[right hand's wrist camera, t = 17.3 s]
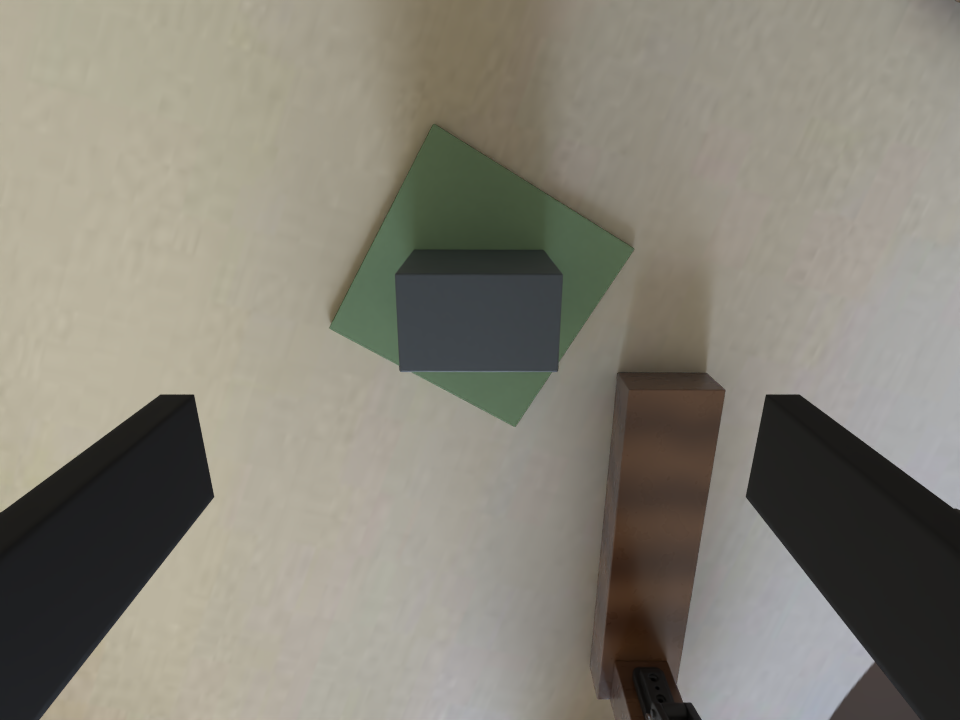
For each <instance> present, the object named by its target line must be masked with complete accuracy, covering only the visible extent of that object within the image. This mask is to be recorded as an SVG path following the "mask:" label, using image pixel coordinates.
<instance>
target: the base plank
mask: <svg viewBox="0 0 960 720" xmlns="http://www.w3.org/2000/svg"><path fill="white" fill-rule="evenodd" d="M724 396H725V389H724V388H723V387H722V386H720V385H719V384H718V383H717V382H716V381H715V380H714V379H713V378H712V377H710V376H709V375H708V374H707V373H618V374H617V384H616V395H615V405H614V416H613V426H612V437H611V448H610V458H609V469H608V479H607V490H606V501H605V511H604V522H603V532H602V543H601V554H600V564H599V575H598V586H597V596H596V607H595V617H594V628H593V639H592V649H591V660H590V669H591V674H592V678H593V683H594V687H595V691H596V696H597V699H610V701H611V705H612V709H613V713H614V717H615V720H644V716H643V713H642V710H641V706H640V703H639V700H638V696H637V693H636V690H635V686H634V683H633V680H632V676H633V670H634V668H636V667H657V668H660V669H661V670H662V671H663V672H664V675H665V677H666V680H667V683H668V685H669V688H670V691H671V694H672V696H673V699H674V702H675V703H683V701H682V698H681V695H680V693H679V690H678V688H677V685H676V684H677V678H678V672H679V666H680V660H681V654H682V648H683V642H684V636H685V630H686V624H687V618H688V612H689V606H690V600H691V594H692V588H693V582H694V576H695V570H696V564H697V558H698V552H699V546H700V540H701V534H702V528H703V522H704V516H705V510H706V504H707V498H708V492H709V486H710V480H711V474H712V468H713V462H714V456H715V450H716V444H717V438H718V432H719V426H720V420H721V414H722V408H723V402H724Z"/></svg>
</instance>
